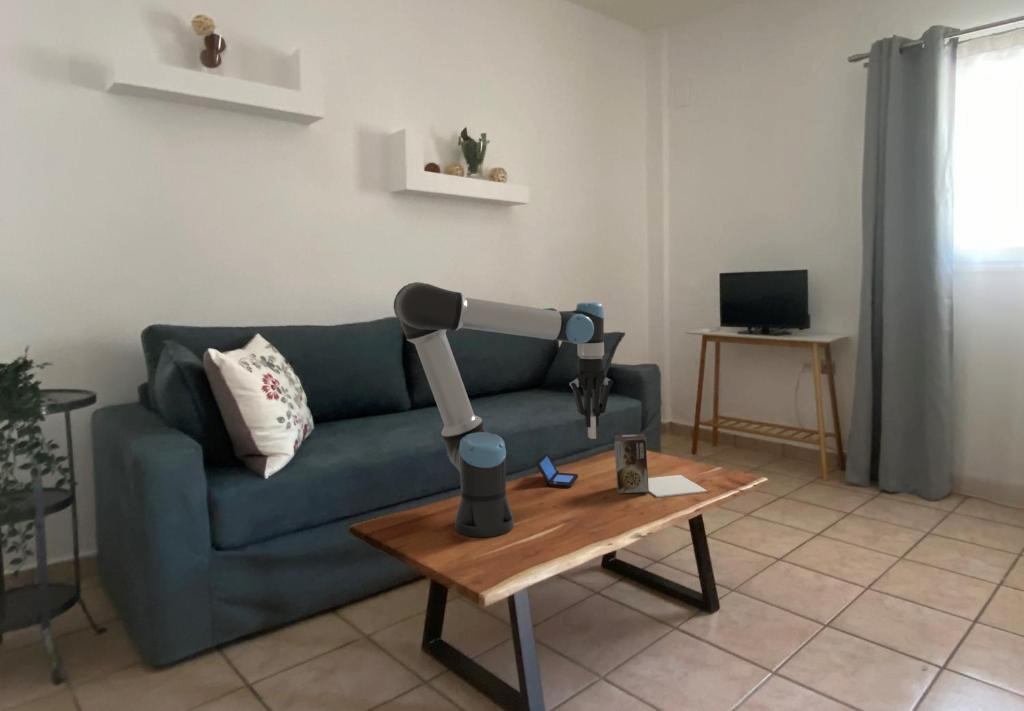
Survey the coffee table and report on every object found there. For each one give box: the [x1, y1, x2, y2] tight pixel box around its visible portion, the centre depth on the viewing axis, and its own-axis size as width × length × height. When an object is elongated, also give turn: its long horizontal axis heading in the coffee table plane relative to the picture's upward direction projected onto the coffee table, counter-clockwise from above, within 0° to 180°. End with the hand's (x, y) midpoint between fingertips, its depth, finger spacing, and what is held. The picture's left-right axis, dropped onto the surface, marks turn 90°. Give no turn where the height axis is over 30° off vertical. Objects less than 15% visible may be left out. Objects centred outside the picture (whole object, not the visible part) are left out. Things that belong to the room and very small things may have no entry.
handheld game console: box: [536, 453, 579, 489], centre depth 208 cm, size 12×11×7 cm
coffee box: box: [613, 433, 650, 494], centre depth 197 cm, size 9×6×16 cm
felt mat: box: [648, 474, 708, 499], centre depth 201 cm, size 16×16×1 cm
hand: (591, 437), depth 193 cm, fingers closed
